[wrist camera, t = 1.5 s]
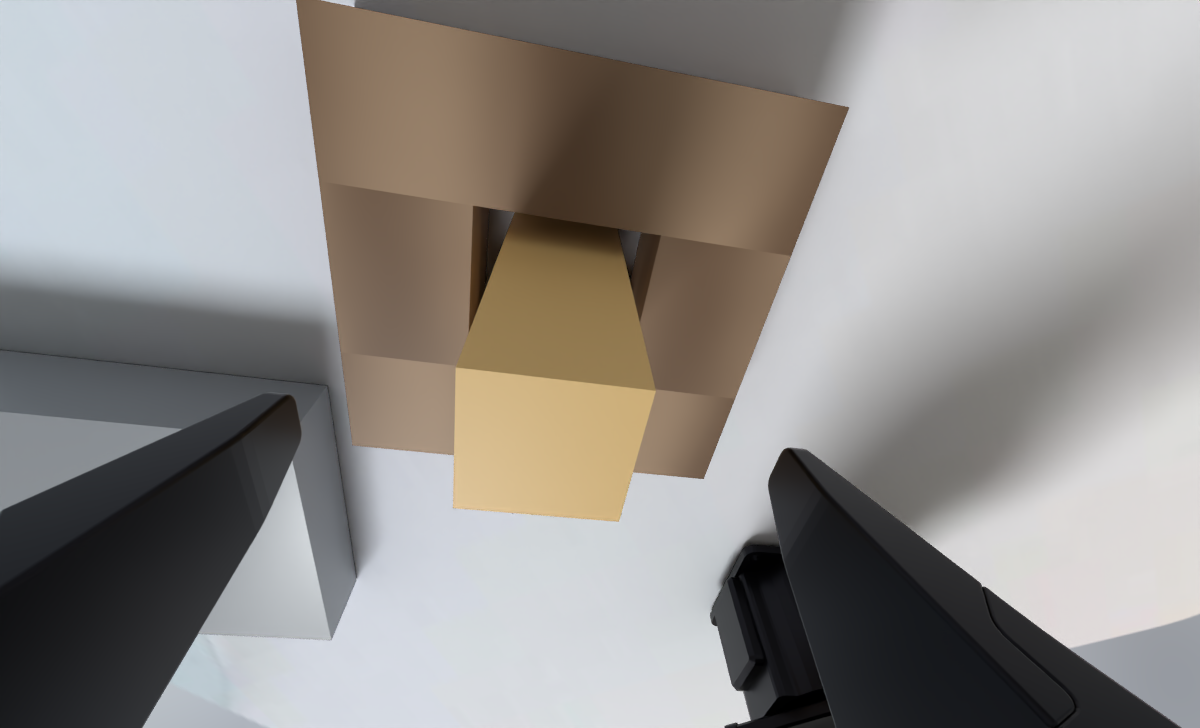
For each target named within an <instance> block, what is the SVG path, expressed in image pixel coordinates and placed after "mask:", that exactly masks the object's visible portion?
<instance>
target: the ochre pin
mask: <svg viewBox="0 0 1200 728" xmlns="http://www.w3.org/2000/svg"><path fill="white" fill-rule="evenodd" d="M655 392H656V389H655V385H654V381H653V376H652V372H651V368H650V364H649V359H648V355H647V351H646V347H645V343H644V338H643V334H642V330H641V326H640V322H639V317H638V313H637V309H636V305H635V300H634V296H633V292H632V288H631V284H630V279H629V275H628V271H627V267H626V262H625V258H624V254H623V250H622V246H621V241H620V237H619V233H618V229H617V228H611V227H605V226H598V225H592V224H586V223H579V222H573V221H567V220H561V219H554V218H548V217H542V216H535V215H529V214H523V213H516V212H515V213H514V216H513V218H512V221H511V223H510V226H509V229H508V231H507V234H506V237H505V239H504V242H503V244H502V247H501V250H500V252H499V255H498V258H497V260H496V263H495V265H494V268H493V271H492V273H491V276H490V279H489V281H488V284H487V286H486V289H485V292H484V294H483V297H482V300H481V302H480V305H479V307H478V310H477V313H476V315H475V318H474V321H473V323H472V326H471V328H470V331H469V334H468V336H467V339H466V342H465V344H464V347H463V349H462V352H461V355H460V357H459V360H458V363H457V365H456V375H455V431H454V487H453V508H458V509H470V510H482V511H495V512H507V513H519V514H531V515H544V516H556V517H568V518H580V519H592V520H605V521H617V522H619V519H620V516H621V512H622V509H623V505H624V502H625V498H626V495H627V491H628V488H629V484H630V481H631V477H632V474H633V470H634V467H635V463H636V459H637V456H638V452H639V449H640V445H641V442H642V438H643V435H644V431H645V428H646V424H647V421H648V417H649V414H650V410H651V407H652V403H653V399H654V396H655Z"/></svg>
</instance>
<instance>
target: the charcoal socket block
mask: <svg viewBox="0 0 1200 728" xmlns="http://www.w3.org/2000/svg"><path fill="white" fill-rule="evenodd" d="M265 392H275V393H284V394H290V395H292V396H293V397H294V398H295V400H296V404H297V409H298V414H299V419H300V425H301V430H302V437H301V442H300V445H299V447H298V449H297V451H296V454H295V456H294V458H293V460H292V463H291V465H290V467H289V469H288V471H287V474H286V476H285V478H284V480H283V483H282V485H281V487H280V489H279V492H278V494H277V496H276V498H275V500H274V503H273V505H272V507H271V509H270V511H269V513H268V515H267V517H266V520H265V522H264V523H263V525H262V527H261V529H260V530H259V532H258V534H257V536H256V537H255V539H254V541H253V542H252V544H251V546H250V548H249V549H248V551H247V553H246V554H245V556H244V558H243V559H242V561H241V563H240V564H239V566H238V568H237V569H236V571H235V573H234V574H233V576H232V578H231V579H230V581H229V583H228V584H227V586H226V588H225V590H224V591H223V593H222V595H221V596H220V598H219V600H218V601H217V603H216V605H215V606H214V608H213V610H212V611H211V613H210V615H209V616H208V618H207V620H206V621H205V623H204V625H203V626H202V628H201V630H200V632H199V633H198V634H209V635H230V636H251V637H272V638H293V639H314V640H332V638H333V635H334V633H335V630H336V628H337V626H338V623H339V621H340V618H341V616H342V614H343V611H344V609H345V606H346V604H347V602H348V599H349V597H350V594H351V592H352V590H353V587H354V585H355V582H356V573H355V566H354V560H353V553H352V546H351V540H350V533H349V526H348V520H347V513H346V506H345V500H344V493H343V486H342V480H341V473H340V466H339V460H338V453H337V446H336V440H335V433H334V426H333V420H332V413H331V406H330V400H329V393H328V386H324V385H315V384H306V383H297V382H288V381H279V380H269V379H260V378H251V377H242V376H233V375H224V374H215V373H205V372H196V371H187V370H178V369H169V368H160V367H151V366H141V365H132V364H123V363H114V362H105V361H96V360H87V359H78V358H68V357H59V356H50V355H41V354H32V353H23V352H14V351H4V350H0V512H1V510H3V509H5V508H7V507H9V506H11V505H14V504H16V503H18V502H20V501H23V500H25V499H27V498H29V497H32V496H34V495H36V494H38V493H40V492H43V491H45V490H47V489H49V488H52V487H54V486H56V485H58V484H61V483H63V482H65V481H67V480H70V479H72V478H74V477H76V476H79V475H81V474H83V473H85V472H88V471H90V470H92V469H94V468H96V467H99V466H101V465H103V464H105V463H108V462H110V461H112V460H114V459H117V458H119V457H121V456H123V455H126V454H128V453H130V452H132V451H135V450H137V449H139V448H141V447H144V446H146V445H148V444H150V443H152V442H155V441H157V440H159V439H161V438H164V437H166V436H168V435H170V434H173V433H175V432H177V431H179V430H182V429H184V428H186V427H188V426H191V425H193V424H195V423H197V422H199V421H202V420H204V419H206V418H208V417H211V416H213V415H215V414H217V413H220V412H222V411H224V410H226V409H229V408H231V407H233V406H235V405H238V404H240V403H242V402H244V401H246V400H249V399H251V398H253V397H255V396H258V395H260V394H262V393H265Z"/></svg>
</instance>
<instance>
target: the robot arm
mask: <svg viewBox="0 0 1200 728" xmlns="http://www.w3.org/2000/svg"><path fill="white" fill-rule="evenodd" d="M301 437H302V430H301V425H300V419H299V414H298V409H297V404H296V400H295V398H294V397H293V396H292V395H290V394H284V393H275V392H265V393H262V394H260V395H258V396H255V397H253V398H251V399H249V400H246V401H244V402H242V403H240V404H238V405H235V406H233V407H231V408H229V409H226V410H224V411H222V412H220V413H217V414H215V415H213V416H211V417H208V418H206V419H204V420H202V421H199V422H197V423H195V424H193V425H191V426H188V427H186V428H184V429H182V430H179V431H177V432H175V433H173V434H170V435H168V436H166V437H164V438H161V439H159V440H157V441H155V442H152V443H150V444H148V445H146V446H144V447H141V448H139V449H137V450H135V451H132V452H130V453H128V454H126V455H123V456H121V457H119V458H117V459H114V460H112V461H110V462H108V463H105V464H103V465H101V466H99V467H96V468H94V469H92V470H90V471H88V472H85V473H83V474H81V475H79V476H76V477H74V478H72V479H70V480H67V481H65V482H63V483H61V484H58V485H56V486H54V487H52V488H49V489H47V490H45V491H43V492H40V493H38V494H36V495H34V496H32V497H29V498H27V499H25V500H23V501H20V502H18V503H16V504H14V505H11V506H9V507H7V508H5V509H3V510H1V512H0V728H142V727H143V726H144V724H145V722H146V721H147V719H148V717H149V715H150V714H151V712H152V710H153V709H154V707H155V705H156V703H157V702H158V700H159V699H160V697H161V695H162V694H163V692H164V690H165V689H166V687H167V685H168V684H169V682H170V680H171V679H172V677H173V675H174V674H175V672H176V670H177V668H178V667H179V665H180V663H181V662H182V660H183V658H184V657H185V655H186V653H187V652H188V650H189V648H190V647H191V645H192V643H193V642H194V640H195V638H196V637H197V635H198V633H199V632H200V630H201V628H202V626H203V625H204V623H205V621H206V620H207V618H208V616H209V615H210V613H211V611H212V610H213V608H214V606H215V605H216V603H217V601H218V600H219V598H220V596H221V595H222V593H223V591H224V590H225V588H226V586H227V584H228V583H229V581H230V579H231V578H232V576H233V574H234V573H235V571H236V569H237V568H238V566H239V564H240V563H241V561H242V559H243V558H244V556H245V554H246V553H247V551H248V549H249V548H250V546H251V544H252V542H253V541H254V539H255V537H256V536H257V534H258V532H259V530H260V529H261V527H262V525H263V523H264V522H265V520H266V517H267V515H268V513H269V511H270V509H271V507H272V505H273V503H274V500H275V498H276V496H277V494H278V492H279V489H280V487H281V485H282V483H283V480H284V478H285V476H286V474H287V471H288V469H289V467H290V465H291V463H292V460H293V458H294V456H295V454H296V451H297V449H298V447H299V445H300V442H301ZM768 489H769V495H770V500H771V504H772V509H773V514H774V519H775V524H776V529H777V534H778V539H779V544H780V547H776V546H764V545H749V546H747V547H745V548H744V549H743V550H742V552H741V554H740V556H739V558H738V560H737V562H736V564H735V566H734V568H733V570H732V572H731V574H730V576H729V577H728V579H727V580H726V582H725V584H724V586H723V588H722V590H721V592H720V594H719V596H718V598H717V600H716V602H715V604H714V606H713V609H712V611H711V613H710V618H711V622H712V624H713V625H715V626H718V631H719V635H720V639H721V643H722V647H723V651H724V655H725V659H726V663H727V667H728V671H729V675H730V679H731V683H732V686H733V687H734V688H735V689H736V690H737V691H743V693H744V696H745V700H746V704H747V708H748V712H749V715H750V719H751V721H748V722H745V723H741V724H737V723H733V724H729V725H726V726H725V728H1181V727H1180V726H1178V725H1177V724H1175V723H1174V722H1173V721H1171V720H1170V719H1168V718H1167V717H1166V716H1164V715H1163V714H1161V713H1160V712H1158V711H1157V710H1155V709H1154V708H1153V707H1151V706H1150V705H1148V704H1147V703H1145V702H1144V701H1143V700H1141V699H1140V698H1138V697H1137V696H1135V695H1134V694H1132V693H1131V692H1130V691H1128V690H1127V689H1125V688H1124V687H1123V686H1121V685H1120V684H1118V683H1117V682H1115V681H1114V680H1113V679H1111V678H1110V677H1108V676H1107V675H1105V674H1104V673H1103V672H1101V671H1100V670H1098V669H1097V668H1095V667H1094V666H1093V665H1091V664H1090V663H1088V662H1087V661H1085V660H1084V659H1083V658H1081V657H1080V656H1078V655H1077V654H1076V653H1074V652H1073V651H1071V650H1070V649H1068V648H1067V647H1066V646H1064V645H1063V644H1061V643H1060V642H1059V641H1057V640H1056V639H1054V638H1053V637H1052V636H1050V635H1049V634H1047V633H1046V632H1045V631H1043V630H1042V629H1041V628H1039V627H1038V626H1037V625H1035V624H1034V623H1033V622H1031V621H1030V620H1029V619H1027V618H1026V617H1025V616H1023V615H1022V614H1021V613H1019V612H1018V611H1017V610H1015V609H1014V608H1013V607H1011V606H1010V605H1008V604H1007V603H1006V602H1005V601H1003V600H1002V599H1001V598H999V597H998V596H997V595H996V594H994V593H993V592H992V591H990V590H989V589H988V588H986V587H982V585H981V583H980V582H979V581H977V580H976V579H975V578H973V577H972V576H971V575H969V574H968V573H967V572H965V571H964V570H963V569H962V568H960V567H959V566H958V565H956V564H955V563H954V562H952V561H951V560H950V559H949V558H947V557H946V556H945V555H943V554H942V553H941V552H939V551H938V550H937V549H936V548H934V547H933V546H932V545H930V544H929V543H928V542H926V541H925V540H924V539H923V538H921V537H920V536H919V535H917V534H916V533H915V532H913V531H912V530H911V529H909V528H908V527H907V526H906V525H904V524H903V523H902V522H900V521H899V520H898V519H896V518H895V517H894V516H893V515H891V514H890V513H889V512H887V511H886V510H885V509H883V508H882V507H881V506H880V505H878V504H877V503H876V502H874V501H873V500H872V499H870V498H869V497H868V496H867V495H865V494H864V493H863V492H861V491H860V490H859V489H857V488H856V487H855V486H853V485H852V484H851V483H850V482H848V481H847V480H846V479H844V478H843V477H842V476H840V475H839V474H838V473H837V472H835V471H834V470H833V469H831V468H830V467H829V466H827V465H826V464H825V463H824V462H822V461H821V460H820V459H818V458H817V457H816V456H814V455H813V454H812V453H811V452H809V451H808V450H805V449H798V448H786V449H784V450H783V451H782V453H781V454H780V456H779V458H778V461H777V463H776V465H775V467H774V469H773V471H772V473H771V475H770V478H769V482H768Z"/></svg>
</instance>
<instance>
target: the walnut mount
mask: <svg viewBox="0 0 1200 728" xmlns="http://www.w3.org/2000/svg"><path fill="white" fill-rule="evenodd" d="M296 3H297V11H298V19H299V27H300V35H301V43H302V50H303V58H304V66H305V74H306V82H307V90H308V98H309V106H310V114H311V121H312V129H313V137H314V145H315V153H316V161H317V169H318V177H319V184H320V192H321V200H322V208H323V216H324V224H325V232H326V240H327V248H328V255H329V263H330V271H331V279H332V287H333V295H334V303H335V311H336V318H337V326H338V334H339V342H340V350H341V358H342V366H343V374H344V382H345V389H346V397H347V405H348V413H349V421H350V429H351V437H352V445H354V446H364V447H375V448H385V449H396V450H406V451H416V452H427V453H437V454H448V455H454V431H455V375H456V365H457V363H458V360H459V357H460V355H461V352H462V349H463V347H464V344H465V342H466V339H467V336H468V334H469V331H470V328H471V326H472V323H473V321H474V318H475V315H476V313H477V310H478V307H479V305H480V302H481V300H482V297H483V294H484V292H485V282H486V263H487V243H488V223H489V208H491V209H498V210H504V211H510V212H516V213H523V214H529V215H535V216H542V217H548V218H554V219H561V220H567V221H573V222H579V223H586V224H592V225H598V226H605V227H611V228H617V229H624V230H630V231H636V232H641V235H640V239H639V244H638V248H637V253H636V258H635V262H634V267H633V271H632V276H631V281H630V284H631V288H632V292H633V296H634V300H635V305H636V309H637V313H638V317H639V322H640V326H641V330H642V334H643V338H644V343H645V347H646V351H647V355H648V359H649V364H650V368H651V372H652V376H653V381H654V385H655V389H656V392H655V396H654V399H653V403H652V407H651V410H650V414H649V417H648V421H647V424H646V428H645V431H644V435H643V438H642V442H641V445H640V449H639V452H638V456H637V459H636V463H635V467H634V470H633V472H636V473H647V474H657V475H667V476H678V477H688V478H699V479H704V477H705V474H706V471H707V469H708V466H709V464H710V461H711V459H712V456H713V454H714V451H715V448H716V446H717V443H718V441H719V438H720V436H721V433H722V431H723V428H724V425H725V423H726V420H727V418H728V415H729V413H730V410H731V408H732V405H733V403H734V400H735V397H736V395H737V392H738V390H739V387H740V385H741V382H742V380H743V377H744V374H745V372H746V369H747V367H748V364H749V362H750V359H751V357H752V354H753V352H754V349H755V346H756V344H757V341H758V339H759V336H760V334H761V331H762V329H763V326H764V323H765V321H766V318H767V316H768V313H769V311H770V308H771V306H772V303H773V300H774V298H775V295H776V293H777V290H778V288H779V285H780V283H781V280H782V278H783V275H784V272H785V270H786V267H787V265H788V262H789V260H790V257H791V255H792V252H793V249H794V247H795V244H796V242H797V239H798V237H799V234H800V232H801V229H802V227H803V224H804V221H805V219H806V216H807V214H808V211H809V209H810V206H811V204H812V201H813V198H814V196H815V193H816V191H817V188H818V186H819V183H820V181H821V178H822V175H823V173H824V170H825V168H826V165H827V163H828V160H829V158H830V155H831V153H832V150H833V147H834V145H835V142H836V140H837V137H838V135H839V132H840V130H841V127H842V124H843V122H844V119H845V117H846V114H847V112H848V109H849V107H845V106H840V105H835V104H830V103H825V102H820V101H815V100H810V99H805V98H800V97H795V96H790V95H785V94H780V93H776V92H771V91H766V90H761V89H756V88H751V87H746V86H741V85H736V84H731V83H726V82H721V81H716V80H711V79H706V78H701V77H696V76H692V75H687V74H682V73H677V72H672V71H667V70H662V69H657V68H652V67H647V66H642V65H637V64H632V63H627V62H622V61H617V60H612V59H608V58H603V57H598V56H593V55H588V54H583V53H578V52H573V51H568V50H563V49H558V48H553V47H548V46H543V45H538V44H533V43H529V42H524V41H519V40H514V39H509V38H504V37H499V36H494V35H489V34H484V33H479V32H474V31H469V30H464V29H459V28H454V27H449V26H445V25H440V24H435V23H430V22H425V21H420V20H415V19H410V18H405V17H400V16H395V15H390V14H385V13H380V12H375V11H370V10H365V9H361V8H356V7H351V6H346V5H341V4H336V3H331V2H326V1H321V0H296Z"/></svg>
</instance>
